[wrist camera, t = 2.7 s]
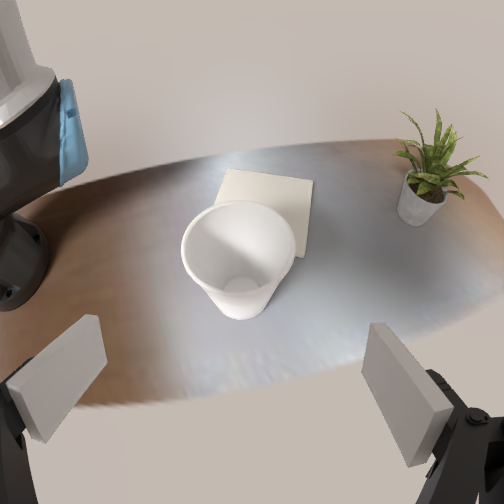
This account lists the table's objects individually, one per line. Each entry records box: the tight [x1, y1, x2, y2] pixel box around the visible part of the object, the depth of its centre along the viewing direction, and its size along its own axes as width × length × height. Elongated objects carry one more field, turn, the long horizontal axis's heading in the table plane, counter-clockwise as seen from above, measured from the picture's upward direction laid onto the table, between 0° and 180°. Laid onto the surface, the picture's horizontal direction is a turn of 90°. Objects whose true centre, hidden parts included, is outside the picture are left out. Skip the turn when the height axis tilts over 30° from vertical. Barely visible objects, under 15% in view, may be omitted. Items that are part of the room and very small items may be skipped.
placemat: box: [214, 169, 313, 258], centre depth 42 cm, size 13×13×1 cm
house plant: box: [393, 110, 487, 227], centre depth 36 cm, size 14×14×16 cm
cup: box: [181, 200, 296, 320], centre depth 31 cm, size 10×10×11 cm
